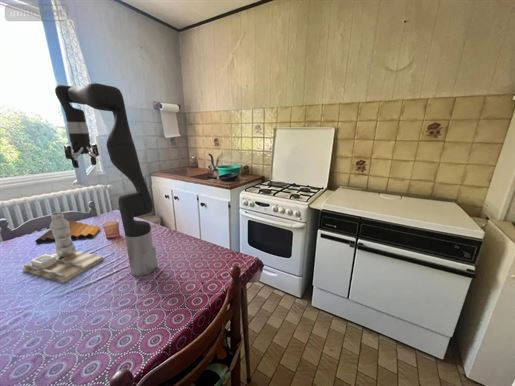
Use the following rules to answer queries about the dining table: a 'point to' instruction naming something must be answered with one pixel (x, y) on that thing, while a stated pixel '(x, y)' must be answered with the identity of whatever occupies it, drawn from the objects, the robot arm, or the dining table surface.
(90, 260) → the board
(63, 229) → the plastic bottle
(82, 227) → the pan flute
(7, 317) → the dining table surface
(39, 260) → the cream rectangular block
